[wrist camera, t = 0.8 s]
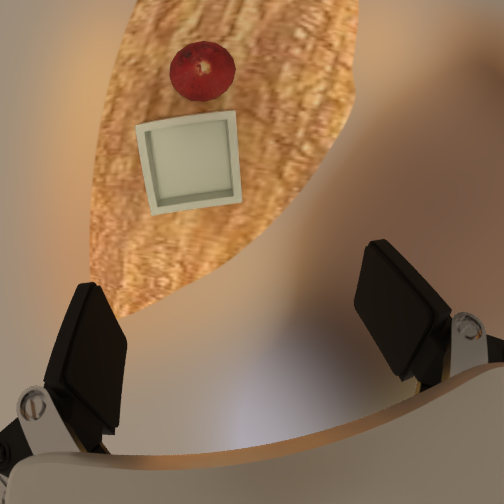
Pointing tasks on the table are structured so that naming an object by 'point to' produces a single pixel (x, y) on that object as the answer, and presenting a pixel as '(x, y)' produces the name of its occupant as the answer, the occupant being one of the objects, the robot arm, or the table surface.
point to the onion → (202, 71)
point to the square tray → (190, 161)
